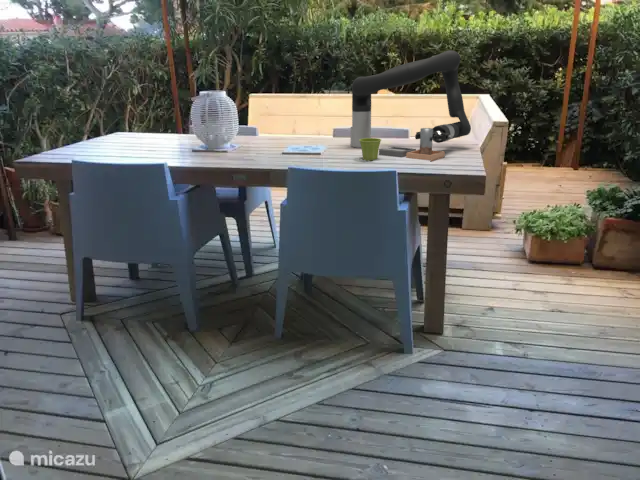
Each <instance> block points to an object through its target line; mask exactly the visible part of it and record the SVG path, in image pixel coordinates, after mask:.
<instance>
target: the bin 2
mask: <svg viewBox="0 0 640 480" xmlns="http://www.w3.org/2000/svg"><path fill="white" fill-rule="evenodd" d="M445 152H446V151H443V150H433V149H432V155H425V154H420V148H419V149H416V150H415V151H412V152H408V153H406V156H405V158H407V159H416V160H424V161H430V162H431V163H432V162H435V161H438V160H441V159H443V158H445V155H446V153H445Z"/></svg>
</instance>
